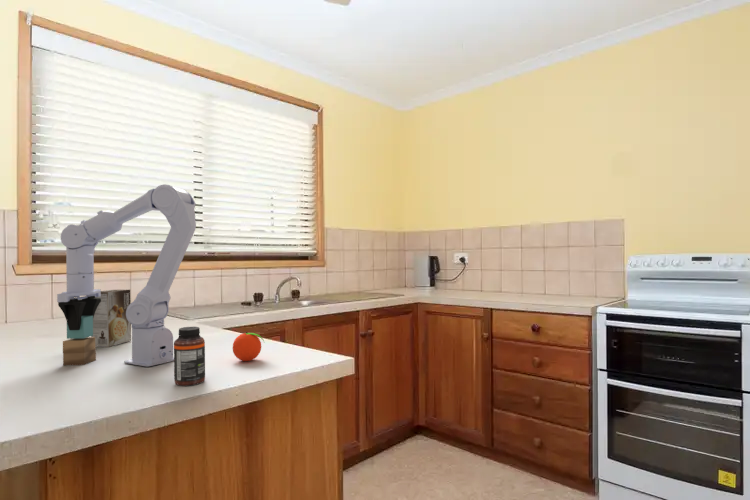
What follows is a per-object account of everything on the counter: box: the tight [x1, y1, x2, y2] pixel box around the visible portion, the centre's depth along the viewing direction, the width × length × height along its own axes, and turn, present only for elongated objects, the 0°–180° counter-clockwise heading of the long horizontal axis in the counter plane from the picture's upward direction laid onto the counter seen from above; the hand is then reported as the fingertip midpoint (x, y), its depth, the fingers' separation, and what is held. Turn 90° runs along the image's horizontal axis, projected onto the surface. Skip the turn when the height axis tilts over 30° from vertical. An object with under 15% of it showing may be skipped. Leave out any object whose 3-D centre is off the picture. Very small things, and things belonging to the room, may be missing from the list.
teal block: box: [66, 316, 93, 340], centre depth 113 cm, size 4×4×5 cm
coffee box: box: [90, 289, 132, 348], centre depth 137 cm, size 9×6×16 cm
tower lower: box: [62, 348, 97, 366], centre depth 113 cm, size 5×5×3 cm
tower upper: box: [62, 336, 96, 355], centre depth 113 cm, size 5×5×3 cm
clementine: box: [232, 331, 265, 362], centre depth 113 cm, size 8×7×7 cm
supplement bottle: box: [173, 326, 206, 387], centre depth 94 cm, size 6×6×11 cm
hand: (80, 328), depth 113 cm, fingers open, 4 cm apart
